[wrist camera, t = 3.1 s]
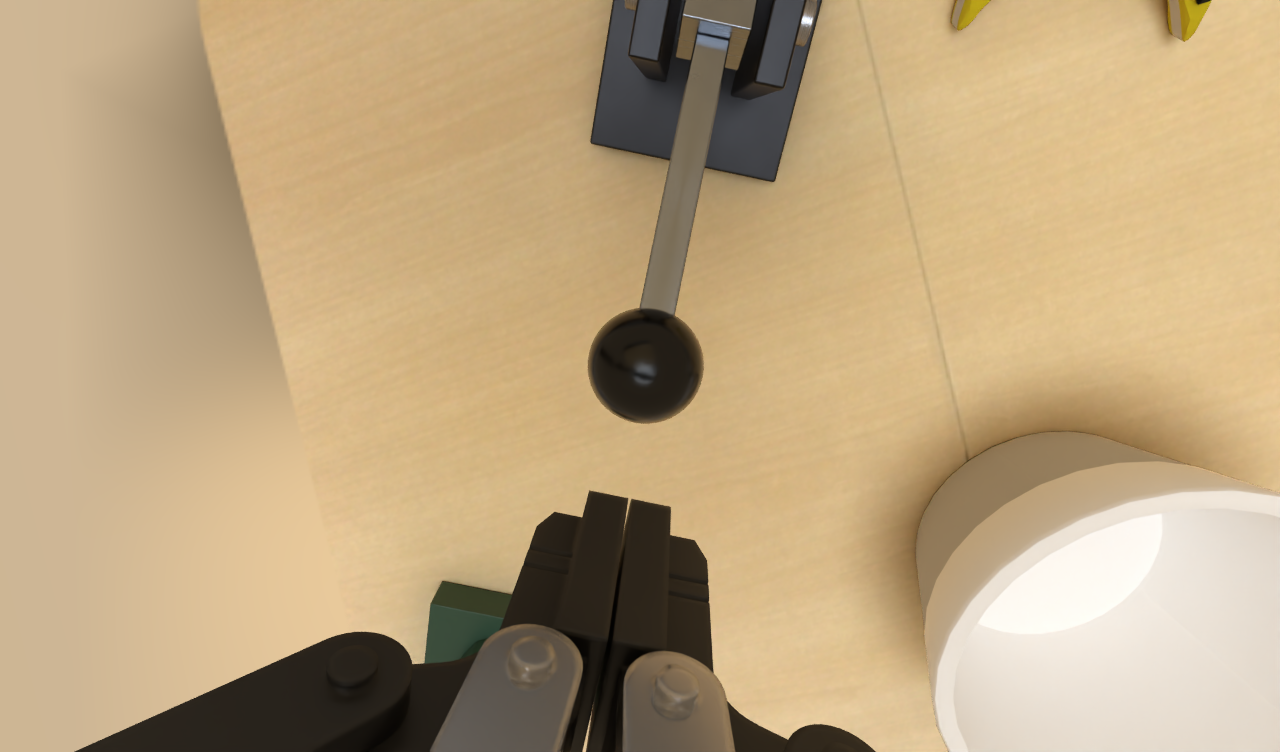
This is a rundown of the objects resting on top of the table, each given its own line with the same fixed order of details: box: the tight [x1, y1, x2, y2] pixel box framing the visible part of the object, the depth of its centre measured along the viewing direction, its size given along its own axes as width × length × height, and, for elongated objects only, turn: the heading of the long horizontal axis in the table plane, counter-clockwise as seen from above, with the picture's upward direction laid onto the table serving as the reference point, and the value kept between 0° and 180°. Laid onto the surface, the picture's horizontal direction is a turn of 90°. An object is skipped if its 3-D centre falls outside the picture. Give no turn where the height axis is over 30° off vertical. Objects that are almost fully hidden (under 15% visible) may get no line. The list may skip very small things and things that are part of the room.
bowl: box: [916, 431, 1280, 752], centre depth 34 cm, size 19×19×11 cm
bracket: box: [590, 0, 822, 182], centre depth 26 cm, size 11×9×12 cm
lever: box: [588, 0, 758, 424], centre depth 21 cm, size 15×4×4 cm, turn 169°
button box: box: [424, 581, 512, 664], centre depth 43 cm, size 11×9×4 cm
